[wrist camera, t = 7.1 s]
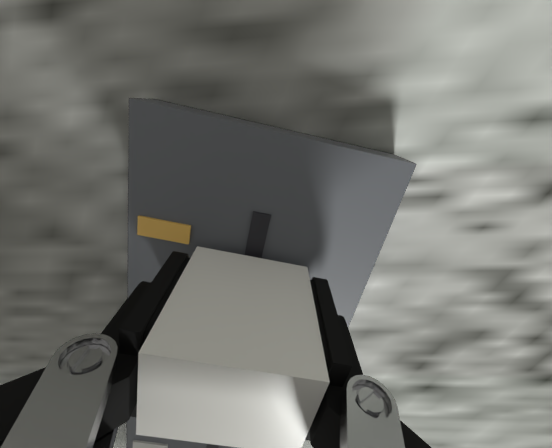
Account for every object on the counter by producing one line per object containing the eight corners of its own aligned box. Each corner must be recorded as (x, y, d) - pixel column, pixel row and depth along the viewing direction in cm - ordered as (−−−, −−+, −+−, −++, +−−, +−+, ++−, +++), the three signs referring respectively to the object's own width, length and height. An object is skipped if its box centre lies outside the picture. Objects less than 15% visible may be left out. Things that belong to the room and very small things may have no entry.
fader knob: (289, 323, 12) (298, 455, 8) (190, 306, 12) (135, 434, 7) (307, 267, 11) (329, 382, 6) (197, 246, 11) (138, 352, 6)
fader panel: (277, 461, 21) (277, 498, 19) (140, 444, 20) (125, 481, 18) (394, 154, 12) (417, 164, 10) (153, 99, 11) (127, 97, 9)
